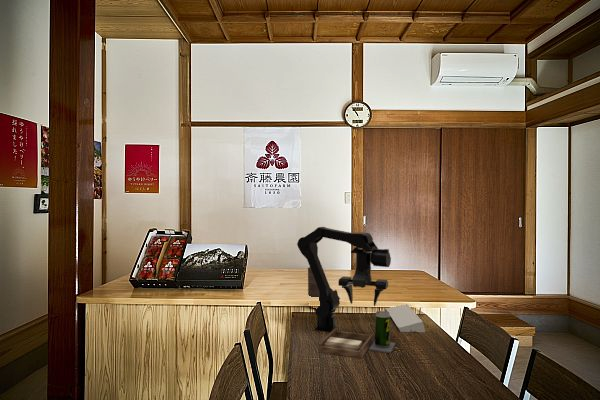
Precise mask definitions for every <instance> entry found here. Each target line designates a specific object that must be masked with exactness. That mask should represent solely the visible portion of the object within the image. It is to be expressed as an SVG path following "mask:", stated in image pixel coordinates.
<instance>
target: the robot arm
mask: <svg viewBox="0 0 600 400" xmlns="http://www.w3.org/2000/svg"><path fill="white" fill-rule="evenodd" d="M323 238H324V239H330V240H334V241H340V242H345V243H348V244H350V245H351V246H353V247H354V248H353V249H352V250H350V253H351V254H355V272H354V274H353V276H341V277H340V278H339V279H338V281H337V283H338V286H339V287H341V288H342V289H344V290H345V292H346V293H347V296H348V299H349V302H350V304H351V305H352V304H353V303H354V302H353V299H354V296H353V295H354V294H353V287H354V288H357V287H358V288H366V286H370V287H375V289H374V298H373V307H376V305H377V302H378V299H379V297H380V294H381V293H382V292H383V291H384V290H387V288H388V287H389V281H388V280H387V279H382V278H381V279H380V278H379V279H378V278H377V280H375V281H374V280H372V279H373V278H372V275H371V274H372V273H371V272H372V267H371V265H372V266H373V267H382V268H389V267H390V265H391V262H392V261H391V260H392V257H391V254H390V249H388V248H385V249H381V248H378V246H377V245H376V243H375V242H374V239H373V236H372V234H371V233H369V232H349V231H344V230H339V229H333V228H330V227H325V226H320V227H316V228H315V229H314V230H313V231H312V232H310V233H308V234H307V235H305V236H302V237H300V238H299V239H298V240H297V243H296V245H297V247H298V250H299V252H300V253H301V254H302V256H303V257H304V258H305V259H306V261H307V263H308V265H309V267H310V269H311V271H312V274H313V276H314V279H315V282H316V284H317V287H318V289H319V301H320V306H319V307H318V308H317V309H314V313H315V316H316V317H317V318H316V319H317V320H316V325H317V326H316V328H315V330H317V331H324V332H332V331H333V330H334V329H335V328H336V317H335V312H336V310H337V309H338V308H339V306H340V304H341V303H340V302H341V301H340V300H341V297H340V296H339V293H338V290H337V289H335V290H333V289H332V288H331V286H330V283H329V281H328V279H327V276H326V273H325V271H324V267H323V266H322V263H321V261H320V258H319V254H318V252H319V250H318V249H319V247H318V243H319V242H321V240H323Z"/></svg>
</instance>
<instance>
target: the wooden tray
mask: <svg viewBox="0 0 600 400" xmlns="http://www.w3.org/2000/svg"><path fill="white" fill-rule="evenodd" d="M330 337H335V338H343V339H350V340H358V341H365V342H364V343H362V345H361V348H360V351H354V350H347V349H340V348H332V347H325V343H326V341H327V340H328V339H329V338H330ZM374 341H375V332H371V334H365V333H357V332H349V331H341V330H338V328H337V327H335V328H334V329H333V330H332V331H330V332H329V333H328V334H327V335H326V336H325V337H324V338H323V339H322V340H320V342H319V343H318V352H319V353H322V354H329V355H335V356H343V357H348V358H349V357H350V358H355V359H356V358H357V359H363V358H364V357H365V354H366V353H367V352H368V351H369V348H370V347H371V345H372V344H373V342H374Z"/></svg>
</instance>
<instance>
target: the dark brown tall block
mask: <svg viewBox="0 0 600 400" xmlns="http://www.w3.org/2000/svg"><path fill="white" fill-rule="evenodd" d="M308 295H309V296H311V297H319V289H318V287H317V284H316V282H315V279H314V276H313V274H312V271H311V269H310V266H309V267H307V296H308Z"/></svg>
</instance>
